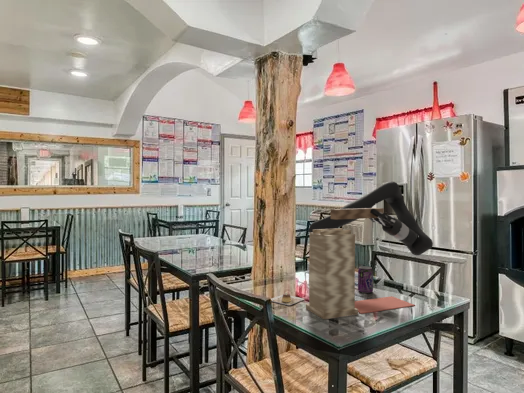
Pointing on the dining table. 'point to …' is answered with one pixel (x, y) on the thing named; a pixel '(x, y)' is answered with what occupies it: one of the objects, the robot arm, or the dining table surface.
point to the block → (354, 213)
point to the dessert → (286, 298)
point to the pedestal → (332, 273)
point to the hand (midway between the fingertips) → (368, 209)
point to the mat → (380, 304)
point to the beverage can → (365, 279)
